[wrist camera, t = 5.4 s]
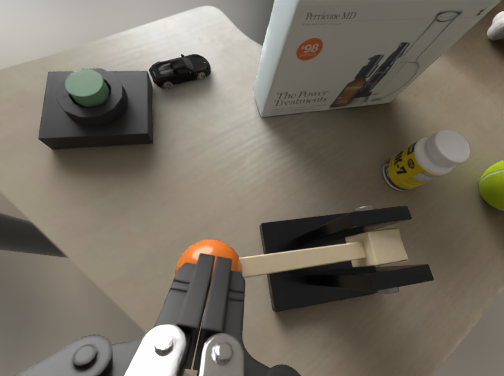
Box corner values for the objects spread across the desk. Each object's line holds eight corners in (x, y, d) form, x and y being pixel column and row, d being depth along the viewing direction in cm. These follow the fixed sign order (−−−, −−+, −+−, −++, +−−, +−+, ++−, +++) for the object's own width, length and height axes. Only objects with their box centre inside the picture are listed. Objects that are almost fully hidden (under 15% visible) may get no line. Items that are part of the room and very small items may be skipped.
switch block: (51, 149, 28) (26, 129, 24) (59, 85, 31) (38, 59, 27) (153, 143, 30) (144, 124, 26) (151, 84, 33) (143, 59, 29)
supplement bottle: (381, 155, 34) (431, 119, 26) (413, 164, 34) (472, 131, 26) (380, 187, 32) (433, 158, 24) (414, 195, 33) (477, 170, 25)
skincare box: (261, 122, 33) (297, -2, 18) (251, 89, 35) (278, -49, 20) (392, 106, 37) (509, -6, 23) (379, 77, 39) (479, -44, 24)
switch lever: (175, 311, 14) (178, 320, 11) (172, 247, 15) (174, 237, 12) (378, 272, 19) (420, 270, 16) (364, 226, 20) (401, 216, 17)
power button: (72, 108, 26) (62, 97, 24) (75, 81, 27) (66, 68, 26) (109, 107, 27) (102, 96, 25) (110, 80, 28) (103, 68, 26)
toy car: (204, 59, 35) (203, 46, 33) (214, 77, 34) (214, 64, 33) (149, 72, 33) (144, 59, 31) (157, 92, 32) (154, 80, 30)
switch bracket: (272, 310, 25) (322, 341, 14) (259, 225, 28) (291, 189, 16) (375, 291, 28) (496, 303, 16) (353, 213, 30) (442, 174, 18)
